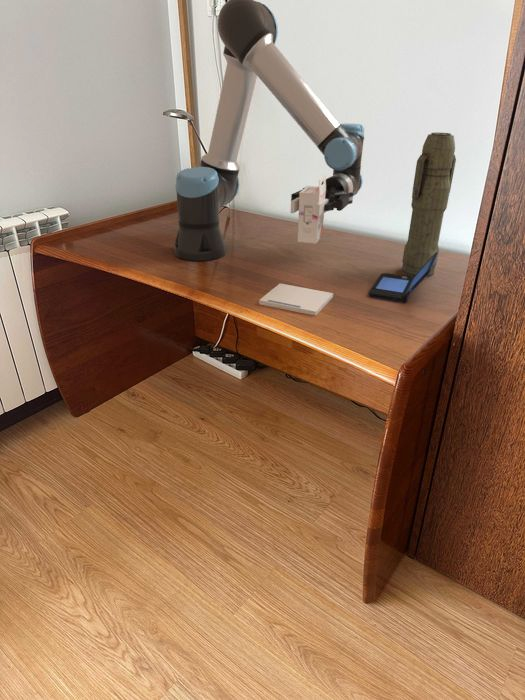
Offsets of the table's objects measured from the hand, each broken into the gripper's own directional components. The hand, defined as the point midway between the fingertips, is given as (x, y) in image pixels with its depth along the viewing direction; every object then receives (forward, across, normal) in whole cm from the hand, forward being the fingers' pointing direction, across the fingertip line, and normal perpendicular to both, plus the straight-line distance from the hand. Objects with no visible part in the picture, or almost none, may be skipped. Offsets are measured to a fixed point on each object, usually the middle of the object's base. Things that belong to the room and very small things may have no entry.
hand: (305, 208), depth 116 cm
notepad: (+7, -2, -20) cm, 21 cm away
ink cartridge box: (-5, 0, -8) cm, 10 cm away
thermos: (-27, -24, -20) cm, 41 cm away
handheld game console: (-11, -23, -20) cm, 32 cm away
